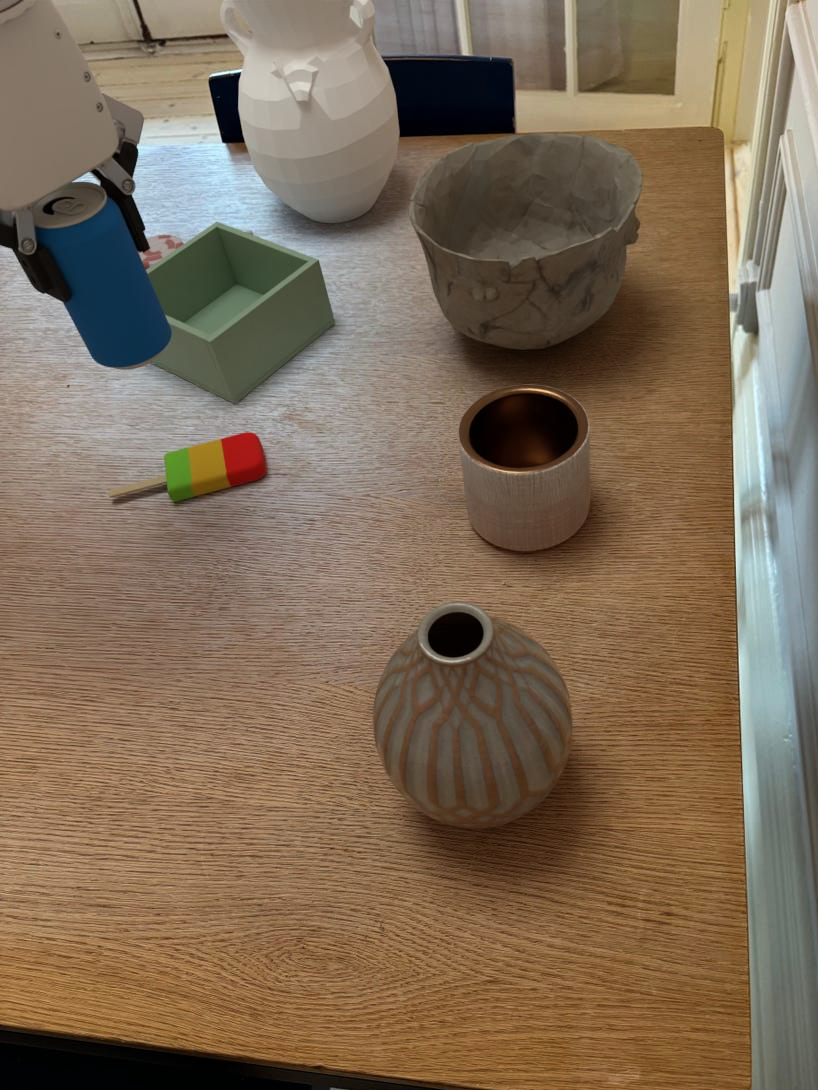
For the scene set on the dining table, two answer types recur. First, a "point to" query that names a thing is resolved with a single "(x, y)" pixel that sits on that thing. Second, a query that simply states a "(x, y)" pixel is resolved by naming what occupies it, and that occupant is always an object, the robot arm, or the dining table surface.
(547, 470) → the planter
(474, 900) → the dining table surface
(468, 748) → the vase
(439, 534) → the dining table surface
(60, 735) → the dining table surface
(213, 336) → the bin
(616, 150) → the bowl
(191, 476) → the popsicle
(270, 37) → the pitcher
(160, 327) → the beverage can
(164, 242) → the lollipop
